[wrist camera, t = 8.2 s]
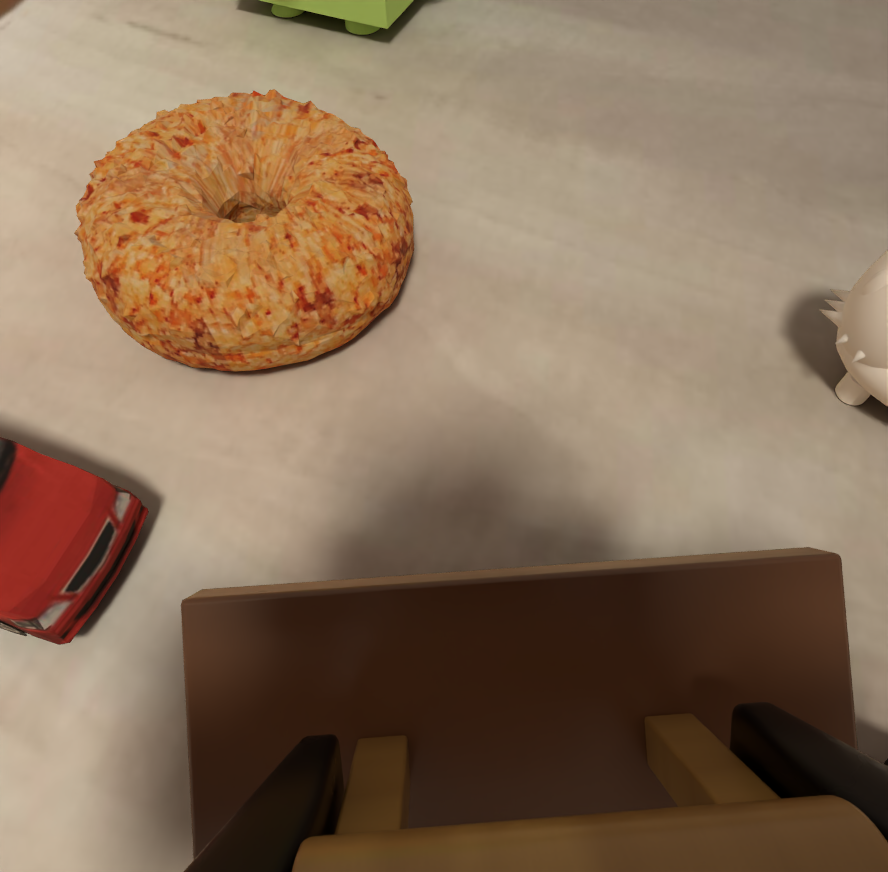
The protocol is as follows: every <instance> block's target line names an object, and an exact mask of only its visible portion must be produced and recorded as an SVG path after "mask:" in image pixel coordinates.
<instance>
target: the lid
mask: <svg viewBox="0 0 888 872" xmlns="http://www.w3.org/2000/svg"><path fill="white" fill-rule="evenodd" d="M181 615H182V635H183V655H184V676H185V696H186V716H187V737H188V757H189V777H190V798H191V818H192V838H193V858H194V859H195V858H196V857H197V856H198V855H199V854H200V853H201V852H202V850H203V849H204V848H205V847H206V846H207V845H208V844H209V843H210V841H211V840H212V839H213V838H214V837H215V836H216V835H217V834H218V832H219V831H220V830H221V829H222V828H223V827H224V826H225V825H226V823H227V822H228V821H229V820H230V819H231V818H232V817H233V816H234V814H235V813H236V812H237V811H238V810H239V809H240V808H241V807H242V806H243V804H244V803H245V802H246V801H247V800H248V799H249V798H250V797H251V795H252V794H253V793H254V792H255V791H256V790H257V789H258V788H259V786H260V785H261V784H262V783H263V782H264V781H265V780H266V779H267V777H268V776H269V775H270V774H271V773H272V772H273V771H274V770H275V768H276V767H277V766H278V765H279V764H280V763H281V762H282V761H283V759H284V758H285V757H286V756H287V755H288V754H289V753H290V752H291V750H292V749H293V748H294V747H295V746H296V745H297V744H298V743H299V742H300V740H301V739H303V738H304V737H306V736H314V735H328V734H334V735H335V736H336V737H337V738H338V740H339V745H340V754H341V763H342V773H343V782H344V792H345V793H344V797H343V801H342V805H341V809H340V813H339V817H338V821H337V825H336V829H335V833H334V835H323V836H311V837H309V838H307V839H305V840H304V841H303V842H302V843H301V845H300V847H299V849H298V852H297V854H296V857H295V861H294V864H293V868H292V872H888V842H887V840H886V839H885V837H884V836H883V835H882V833H881V832H880V831H879V829H878V828H877V827H876V826H875V824H874V823H873V822H872V821H871V820H870V819H869V818H868V817H867V816H866V815H865V814H864V813H863V812H862V811H861V810H860V809H859V808H858V807H856V806H855V805H853V804H852V803H851V802H849V801H847V800H845V799H842V798H840V797H837V796H833V795H820V796H807V797H795V798H783V799H781V798H780V797H779V796H778V795H777V794H776V793H775V792H774V791H773V790H772V789H771V788H770V787H769V786H768V785H766V784H765V783H764V782H763V781H762V780H761V779H760V778H759V777H758V776H757V775H756V774H755V773H754V772H753V771H752V770H751V769H750V768H749V767H748V766H747V765H745V764H744V763H743V762H742V761H741V760H740V759H739V758H738V757H737V756H736V755H735V754H734V753H733V752H732V751H731V750H730V738H731V720H732V712H733V709H734V707H735V706H737V705H738V704H742V703H755V702H768V703H771V704H773V705H775V706H777V707H779V708H781V709H783V710H784V711H786V712H788V713H790V714H792V715H794V716H796V717H797V718H799V719H801V720H803V721H805V722H807V723H809V724H810V725H812V726H814V727H816V728H818V729H820V730H822V731H823V732H825V733H827V734H829V735H831V736H833V737H835V738H836V739H838V740H840V741H842V742H844V743H846V744H848V745H849V746H851V747H853V748H855V749H857V750H858V747H857V736H856V724H855V713H854V701H853V690H852V678H851V667H850V655H849V644H848V632H847V621H846V609H845V598H844V586H843V575H842V563H841V558H840V556H839V555H838V554H836V553H832V552H827V551H823V550H818V549H814V548H810V547H804V548H790V549H776V550H761V551H747V552H733V553H718V554H704V555H690V556H675V557H661V558H647V559H632V560H618V561H603V562H589V563H575V564H560V565H546V566H532V567H517V568H503V569H489V570H474V571H460V572H446V573H431V574H417V575H403V576H388V577H374V578H359V579H345V580H331V581H316V582H302V583H288V584H273V585H259V586H245V587H230V588H216V589H202V590H200V591H198V592H196V593H195V594H193V595H191V596H189V597H188V598H186V599H184V600H182V603H181Z"/></svg>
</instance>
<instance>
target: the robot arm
mask: <svg viewBox="0 0 888 872" xmlns="http://www.w3.org/2000/svg"><path fill="white" fill-rule="evenodd" d="M730 750H731V751H732V752H733V753H734V754H735V755H736V756H737V757H738V758H739V759H740V760H741V761H742V762H743V763H744V764H745V765H747V766H748V767H749V768H750V769H751V770H752V771H753V772H754V773H755V774H756V775H757V776H758V777H759V778H760V779H761V780H762V781H763V782H764V783H765V784H766V785H768V786H769V787H770V788H771V789H772V790H773V791H774V792H775V793H776V794H777V795H778V796H779V797H780V798H781V799H783V798H795V797H807V796H820V795H833V796H837V797H840V798H842V799H845V800H847V801H849V802H851V803H852V804H853V805H855V806H856V807H858V808H859V809H860V810H861V811H862V812H863V813H864V814H865V815H866V816H867V817H868V818H869V819H870V820H871V821H872V822H873V823H874V824H875V826H876V827H877V828H878V829H879V831H880V832H881V833H882V835H883V836H884V837H885V839H886V840H887V842H888V766H887V765H885V764H883V763H881V762H879V761H877V760H875V759H874V758H872V757H870V756H868V755H866V754H864V753H862V752H861V751H859V750H857V749H855V748H853V747H851V746H849V745H848V744H846V743H844V742H842V741H840V740H838V739H836V738H835V737H833V736H831V735H829V734H827V733H825V732H823V731H822V730H820V729H818V728H816V727H814V726H812V725H810V724H809V723H807V722H805V721H803V720H801V719H799V718H797V717H796V716H794V715H792V714H790V713H788V712H786V711H784V710H783V709H781V708H779V707H777V706H775V705H773V704H771V703H768V702H755V703H742V704H738V705H737V706H735V707H734V709H733V712H732V720H731V738H730ZM344 793H345V792H344V782H343V773H342V763H341V754H340V745H339V740H338V738H337V737H336V736H335V735H334V734H328V735H314V736H306V737H304V738H303V739H301V740H300V742H299V743H298V744H297V745H296V746H295V747H294V748H293V749H292V750H291V752H290V753H289V754H288V755H287V756H286V757H285V758H284V759H283V761H282V762H281V763H280V764H279V765H278V766H277V767H276V768H275V770H274V771H273V772H272V773H271V774H270V775H269V776H268V777H267V779H266V780H265V781H264V782H263V783H262V784H261V785H260V786H259V788H258V789H257V790H256V791H255V792H254V793H253V794H252V795H251V797H250V798H249V799H248V800H247V801H246V802H245V803H244V804H243V806H242V807H241V808H240V809H239V810H238V811H237V812H236V813H235V814H234V816H233V817H232V818H231V819H230V820H229V821H228V822H227V823H226V825H225V826H224V827H223V828H222V829H221V830H220V831H219V832H218V834H217V835H216V836H215V837H214V838H213V839H212V840H211V841H210V843H209V844H208V845H207V846H206V847H205V848H204V849H203V850H202V852H201V853H200V854H199V855H198V856H197V857H196V858H195V859H194V861H193V862H192V863H191V864H190V865H189V866H188V867H187V868H186V870H185V871H184V872H292V868H293V864H294V861H295V857H296V854H297V852H298V849H299V847H300V845H301V843H302V842H303V841H304V840H305V839H307V838H309V837H311V836H323V835H334V833H335V829H336V825H337V821H338V817H339V813H340V809H341V805H342V801H343V797H344Z"/></svg>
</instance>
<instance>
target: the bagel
mask: <svg viewBox="0 0 888 872" xmlns="http://www.w3.org/2000/svg"><path fill="white" fill-rule="evenodd" d="M94 163H95V166H96V168H95V170H94V171H93V172H92V173H90V176H91V178H92V180H91V181H90V182H89V184H88V185H87V190H86V192H85V194H84V196H83V197H82V198H81V199H80V200H79V203H78V204H77V205H76V210H77V217H78V219H79V220H80V222H81V225H80V226H79V227H78V229H77V230H76V231H75V234H76V235H77V236H78V240H79V241H80V242H81V244H82V249H83V254H84V261H83V263H84V266H85V271H84V274H85V275H86V279H88V280H89V281H91V282H92V285H93V288H94V290H95V292H96V294H97V296H98V299H99V300H100V302H101V303H102V304H103V306H104V307H105V309H106V310H107V312H108V313H109V314H110V316H111V317H112V319H113V320H114V321H116V322H117V323H118V324H119V325H120V326H121V327H122V329H123V330H124V331H125V332H126V333H127V334H128V335H129V336H131V337H132V338H133V339H135V340H136V341H137V342H138V343H140V344H141V345H142V346H144V347H146V348H147V349H149V350H151V351H153V352H155V353H157V354H158V355H160V356H162V357H164V358H166V359H170V360H174V361H178V362H181V363H183V364H186V365H188V366H191V367H196V368H214V369H217V370H222V371H248V370H259V369H266V368H272V367H277V366H282V365H287V364H292V363H297V362H302V361H307V360H310V359H312V358H314V357H316V356H318V355H320V354H323V353H325V352H328V351H330V350H333V349H336V348H338V347H340V346H341V345H343V344H345V343H346V342H348V341H350V340H351V339H353V338H354V337H355V336H356V335H358V334H359V333H360V332H361V331H362V330H363V329H364V328H365V327H366V326H367V325H369V324H370V323H371V322H372V321H373V320H374V319H375V318H376V317H377V316H378V315H379V314H380V313H381V312H382V311H383V310H385V309H386V308H388V307H389V306H390V305H391V304H392V302H393V301H394V299H395V298H396V296H397V295H398V292H399V289H400V287H401V284H402V282H403V280H404V278H405V276H406V273H407V269H408V266H409V263H410V259H411V256H412V253H413V251H414V241H413V213H412V210H411V206H410V205H411V203H412V202H413V201H412V199H411V197H410V194H409V192H408V189H407V180H406V179H405V178H403V177H402V176H400V174H399V173H398V171H397V169H396V168H395V166H394V162H392V161H390V160H388V155H387V154H386V152H385V151H380V149H379V148H378V146H377V145H376V143H375V142H374V140H372V139H371V138H369V137H367V136H366V135H364V134H363V133H362V132H361V130H360V129H358V128H353V127H350V126H349V125H347V124H346V123H345V122H344V121H343V120H341V119H340V118H338V117H336V116H335V115H333V114H331V113H326V112H325V111H322V110H319V109H317V107H316V106H315V105H314V104H313V103H312V102H311V101H309V102H306V103H304V104H303V103H300V102H297V101H294V100H291V99H288V98H285V97H283V96H282V95H281V94H280V93H278V92H277V91H276V90H275V89H274V90H269V92H268V93H267V94H266V95H261V94H259V93H257V92H255V91H253V93H251V94H247V93H231V94H230V95H229V96H228V97H214V98H212V99H205V100H197V103H195V104H191V105H186V104H181V105H180V106H179V107H178V109H174V110H172V111H170V112H168V111H166V110H163V111H160V112H157V116H156V119H155V120H153V121H151V122H149V123H147V124H144V125H143V126H142V127H141V128H140V129H136V130H134V131H132V132H130V134H129V135H128V136H127V137H126V138H123V139H121V140H119V141H117V142H116V147H115V149H114V150H113V151H111V152H107V154H106V157H105V158H103V159H102V160H98V161H94Z"/></svg>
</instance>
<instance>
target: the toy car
mask: <svg viewBox="0 0 888 872" xmlns="http://www.w3.org/2000/svg"><path fill="white" fill-rule="evenodd" d="M148 512H149V511H148V509H147V508H146V507H144V506H143V505H142V503H141V501H140V499H138V498H137V497H136V496H135V495H133V494H132V493H131V492H130V491H128V490H126V489H123V488H121V487H118V486H116V485H113V484H111V483H110V482H108V481H106V480H105V479H103V478H101V477H98V476H96V475H94V474H92V473H89V472H87V471H85V470H82V469H80V468H78V467H76V466H73V465H70V464H68V463H65V462H62V461H59V460H56V459H54V458H51V457H48V456H45V455H42V454H40V453H38V452H35V451H33V450H31V449H29V448H27V447H25V446H23V445H20V444H18V443H16V442H14V441H12V440H8V439H5V438H2V437H0V628H2V629H5V630H8V631H11V632H14V633H17V634H20V635H24V636H27V635H26V634H24V633H23V632H27V633H29V634H31V635H33V636H35V637H38V638H41V639H44V640H47V641H50V642H53V643H56V644H65V643H70V642H71V641H72V639H73V638H74V637H75V635H76V634H77V633H78V631H79V630H80V629H81V627H82V626H83V625H84V623H85V622H86V621H87V619H88V618H89V617H90V616H91V614H92V613H93V612H94V610H95V609H96V607H97V606H98V604H99V603H100V601H101V600H102V598H103V597H104V595H105V594H106V592H107V591H108V589H109V588H110V586H111V585H112V583H113V582H114V580H115V579H116V577H117V576H118V574H119V572H120V570H121V568H122V566H123V564H124V562H125V561H126V559H127V557H128V555H129V553H130V551H131V549H132V547H133V545H134V543H135V541H136V539H137V537H138V535H139V532H140V530H141V528H142V525H143V523H144V521H145V519H146V516H147V514H148ZM21 631H22V632H21Z"/></svg>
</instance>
